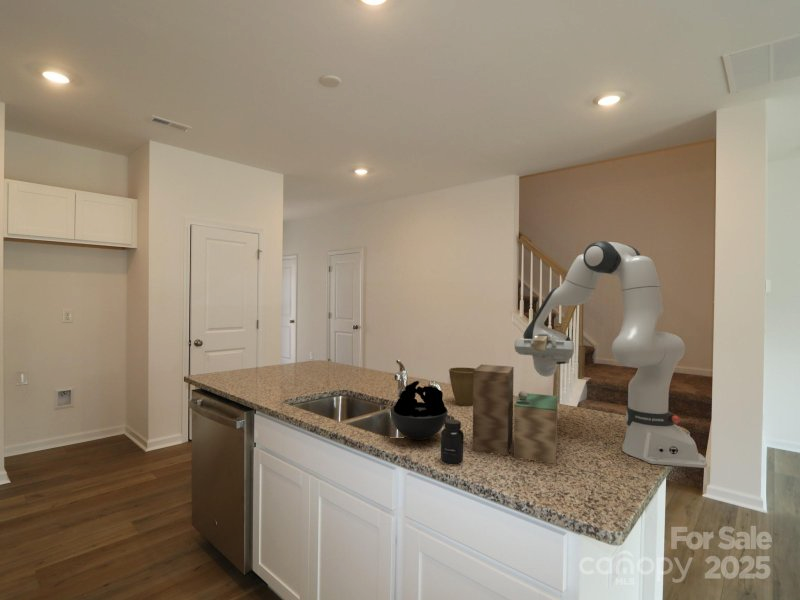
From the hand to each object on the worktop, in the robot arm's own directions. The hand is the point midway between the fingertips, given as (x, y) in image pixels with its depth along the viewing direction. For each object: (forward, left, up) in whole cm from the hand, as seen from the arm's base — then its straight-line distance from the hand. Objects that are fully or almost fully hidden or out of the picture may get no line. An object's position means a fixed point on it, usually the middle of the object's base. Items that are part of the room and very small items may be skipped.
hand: (542, 338), depth 144 cm
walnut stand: (+15, +13, -36) cm, 41 cm away
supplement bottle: (+24, +30, -36) cm, 53 cm away
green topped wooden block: (+1, +11, -36) cm, 37 cm away
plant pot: (+36, -38, -36) cm, 63 cm away
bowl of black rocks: (+40, +15, -36) cm, 56 cm away
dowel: (0, +8, -2) cm, 9 cm away
